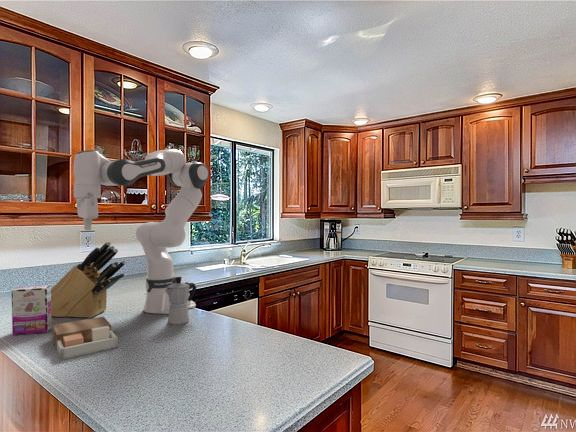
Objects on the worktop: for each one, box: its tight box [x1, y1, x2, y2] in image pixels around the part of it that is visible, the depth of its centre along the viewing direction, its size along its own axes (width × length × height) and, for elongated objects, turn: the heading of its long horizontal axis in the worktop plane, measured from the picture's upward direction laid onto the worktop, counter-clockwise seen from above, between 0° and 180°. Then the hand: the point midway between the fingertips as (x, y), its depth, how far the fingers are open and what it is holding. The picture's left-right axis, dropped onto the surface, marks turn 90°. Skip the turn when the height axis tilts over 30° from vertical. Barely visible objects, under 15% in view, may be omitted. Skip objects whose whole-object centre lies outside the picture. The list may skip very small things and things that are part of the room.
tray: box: [56, 329, 119, 361], centre depth 117 cm, size 16×9×3 cm, turn 128°
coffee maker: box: [165, 276, 197, 326], centre depth 146 cm, size 15×9×18 cm, turn 143°
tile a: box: [92, 326, 109, 342], centre depth 121 cm, size 5×5×2 cm
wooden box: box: [52, 316, 112, 350], centre depth 125 cm, size 16×12×5 cm
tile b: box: [63, 333, 84, 347], centre depth 115 cm, size 5×5×2 cm
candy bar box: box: [11, 285, 53, 336], centre depth 132 cm, size 11×5×16 cm, turn 105°
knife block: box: [51, 241, 126, 319], centre depth 153 cm, size 11×35×31 cm, turn 87°
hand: (87, 230), depth 136 cm, fingers closed
